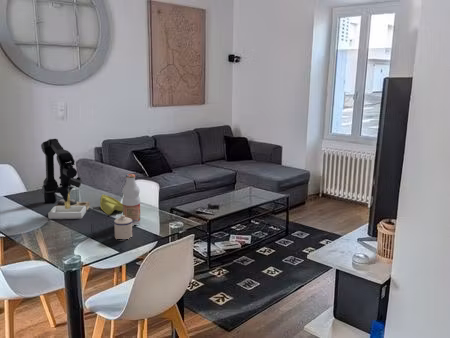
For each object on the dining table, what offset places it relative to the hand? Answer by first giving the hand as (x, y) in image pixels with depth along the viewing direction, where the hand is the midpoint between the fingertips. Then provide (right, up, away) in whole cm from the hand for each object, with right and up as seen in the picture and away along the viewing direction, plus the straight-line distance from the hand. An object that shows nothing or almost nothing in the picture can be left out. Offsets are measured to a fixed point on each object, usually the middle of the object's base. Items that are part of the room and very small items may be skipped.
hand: (67, 200), depth 233 cm
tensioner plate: (-2, -6, +14) cm, 15 cm away
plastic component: (+22, -7, +15) cm, 28 cm away
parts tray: (0, -9, +2) cm, 9 cm away
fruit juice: (+39, -12, -8) cm, 42 cm away
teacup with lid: (+38, -17, -26) cm, 49 cm away
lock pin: (0, -4, +1) cm, 5 cm away
